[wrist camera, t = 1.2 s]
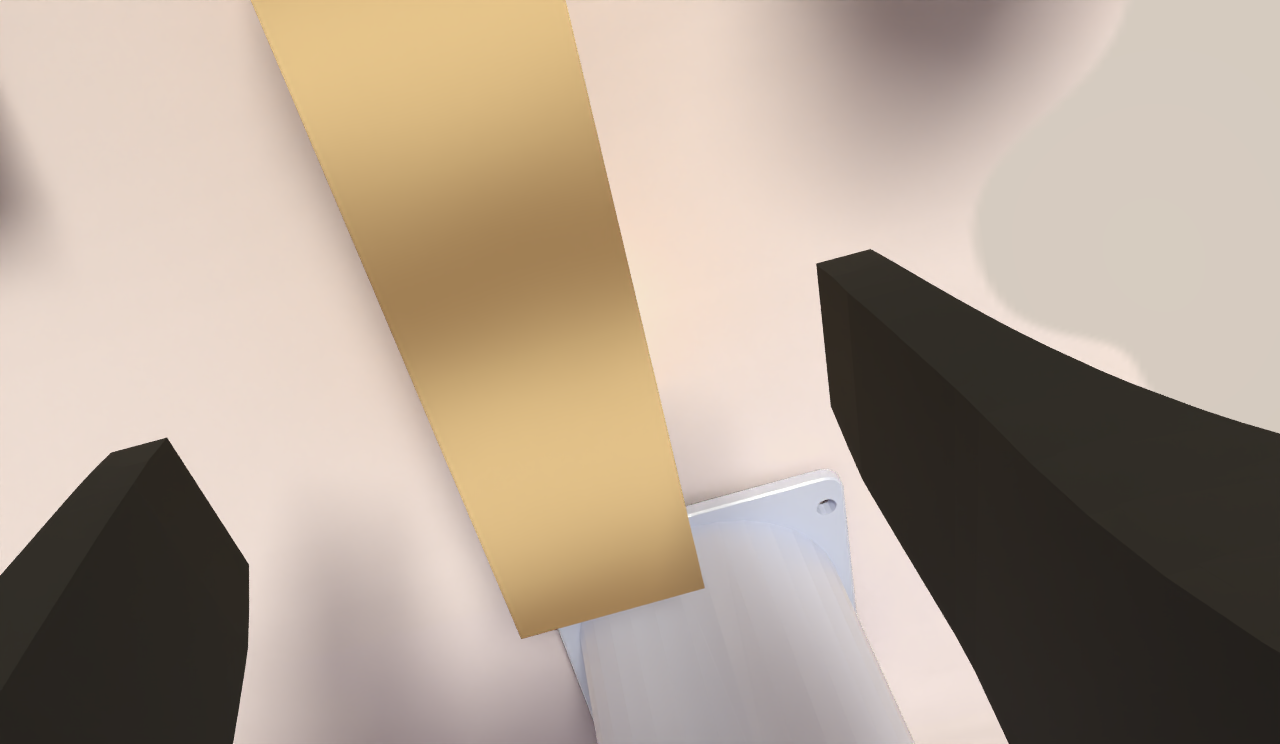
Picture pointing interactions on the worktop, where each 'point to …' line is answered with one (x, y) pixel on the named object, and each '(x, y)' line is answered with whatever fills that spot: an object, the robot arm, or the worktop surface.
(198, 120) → the worktop surface
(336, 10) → the rail
